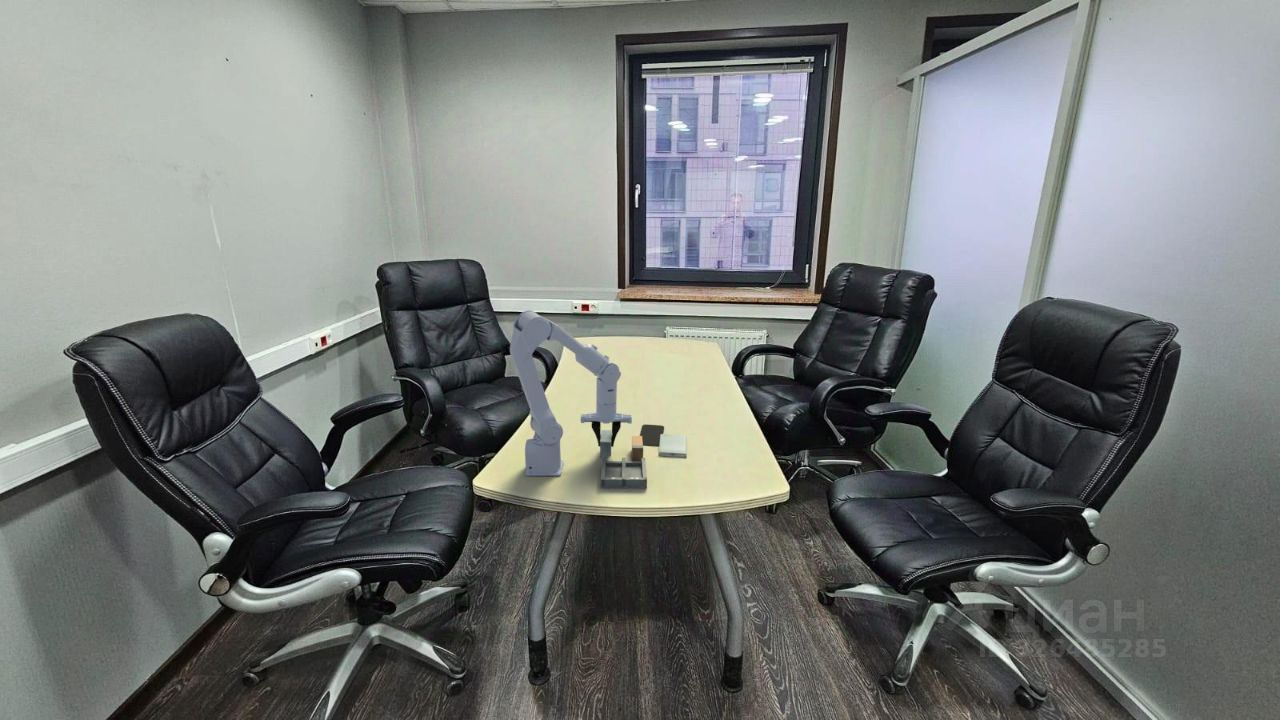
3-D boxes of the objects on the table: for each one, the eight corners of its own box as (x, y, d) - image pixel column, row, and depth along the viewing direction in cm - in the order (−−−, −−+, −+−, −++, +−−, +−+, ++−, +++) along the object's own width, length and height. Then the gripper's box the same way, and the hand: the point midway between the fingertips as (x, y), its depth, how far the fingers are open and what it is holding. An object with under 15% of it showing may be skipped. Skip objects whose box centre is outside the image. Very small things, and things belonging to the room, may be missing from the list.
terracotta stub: (632, 462, 149) (632, 447, 148) (631, 449, 157) (631, 435, 156) (642, 462, 150) (643, 447, 148) (641, 449, 157) (642, 435, 156)
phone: (637, 444, 160) (642, 424, 174) (637, 446, 160) (642, 426, 175) (661, 446, 159) (664, 425, 174) (661, 448, 160) (664, 427, 174)
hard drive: (660, 433, 165) (658, 451, 153) (686, 435, 165) (686, 453, 153) (660, 438, 166) (658, 456, 154) (686, 439, 165) (686, 458, 153)
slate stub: (600, 456, 148) (600, 441, 147) (601, 443, 156) (601, 429, 155) (611, 456, 149) (611, 441, 147) (611, 443, 156) (611, 429, 155)
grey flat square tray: (600, 488, 136) (600, 479, 135) (602, 465, 147) (602, 457, 146) (646, 488, 136) (647, 479, 135) (644, 465, 148) (645, 457, 147)
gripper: (579, 406, 144) (579, 451, 148) (632, 407, 144) (631, 451, 148) (581, 397, 151) (581, 440, 154) (631, 397, 151) (630, 440, 155)
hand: (606, 445), depth 152 cm, fingers closed on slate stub, 3 cm apart
